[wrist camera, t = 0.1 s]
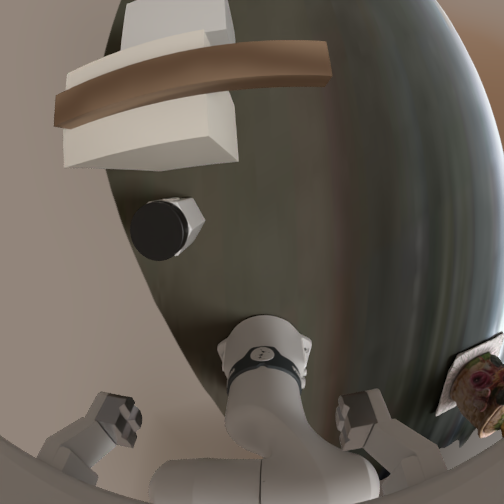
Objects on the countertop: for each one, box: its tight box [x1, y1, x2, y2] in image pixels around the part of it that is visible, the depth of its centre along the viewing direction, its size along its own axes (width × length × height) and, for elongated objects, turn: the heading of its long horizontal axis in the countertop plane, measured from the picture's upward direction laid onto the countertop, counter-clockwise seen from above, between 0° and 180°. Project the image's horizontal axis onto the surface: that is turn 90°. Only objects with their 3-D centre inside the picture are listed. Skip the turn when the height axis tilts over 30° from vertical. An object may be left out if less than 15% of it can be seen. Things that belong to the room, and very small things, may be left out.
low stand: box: [121, 0, 235, 50], centre depth 31 cm, size 10×14×16 cm
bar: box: [54, 40, 332, 129], centre depth 16 cm, size 3×22×2 cm, turn 94°
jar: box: [130, 198, 205, 261], centre depth 41 cm, size 9×8×12 cm
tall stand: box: [63, 29, 239, 171], centre depth 30 cm, size 10×14×26 cm
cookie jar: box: [436, 333, 504, 438], centre depth 39 cm, size 25×25×32 cm
